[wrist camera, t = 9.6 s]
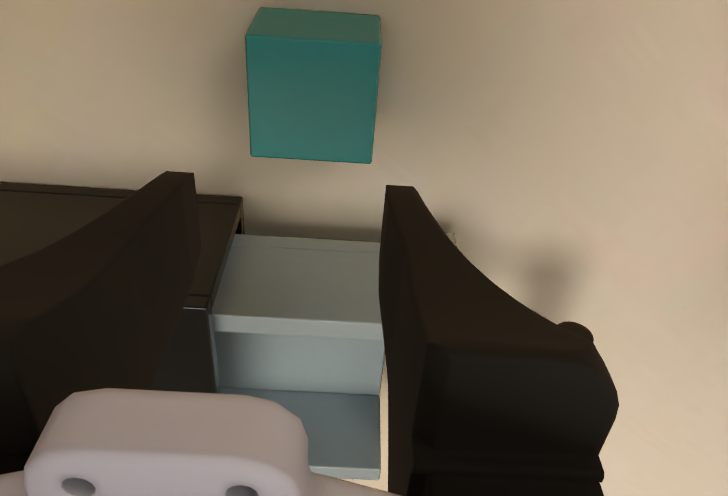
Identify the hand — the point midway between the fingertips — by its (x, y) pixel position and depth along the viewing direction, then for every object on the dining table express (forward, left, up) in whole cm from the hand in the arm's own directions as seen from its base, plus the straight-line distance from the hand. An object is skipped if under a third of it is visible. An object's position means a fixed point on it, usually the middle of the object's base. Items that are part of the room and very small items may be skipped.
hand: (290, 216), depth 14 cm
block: (0, 0, -9) cm, 9 cm away
